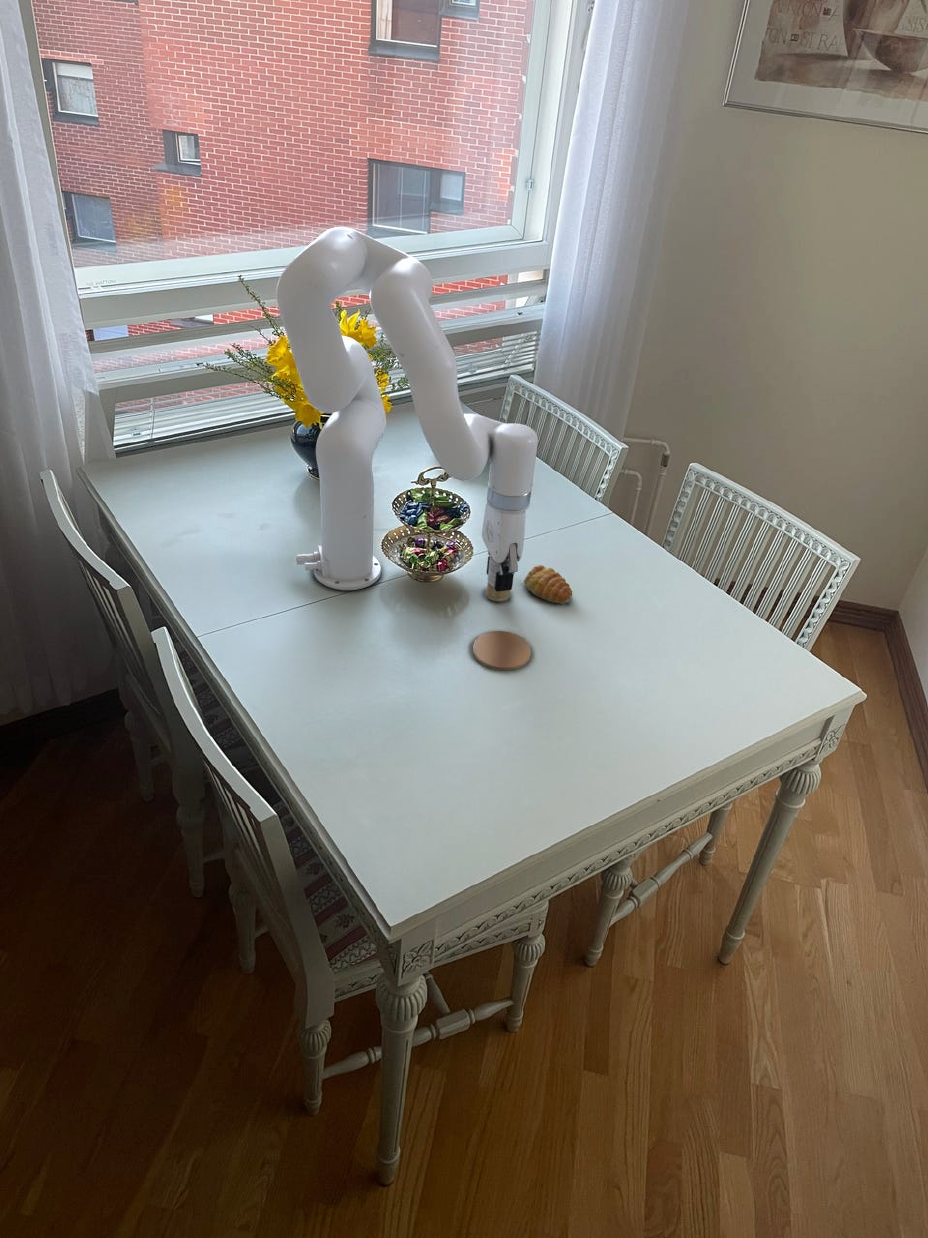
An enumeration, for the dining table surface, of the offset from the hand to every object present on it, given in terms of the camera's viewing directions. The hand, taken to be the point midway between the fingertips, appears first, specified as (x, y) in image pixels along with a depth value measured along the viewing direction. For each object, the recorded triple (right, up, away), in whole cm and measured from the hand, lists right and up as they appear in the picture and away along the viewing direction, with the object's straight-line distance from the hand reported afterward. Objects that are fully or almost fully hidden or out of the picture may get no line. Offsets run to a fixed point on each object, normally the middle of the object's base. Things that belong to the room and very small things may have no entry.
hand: (499, 581), depth 171 cm
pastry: (+9, -2, +5) cm, 11 cm away
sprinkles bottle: (0, -3, +2) cm, 4 cm away
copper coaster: (0, -13, -11) cm, 17 cm away
